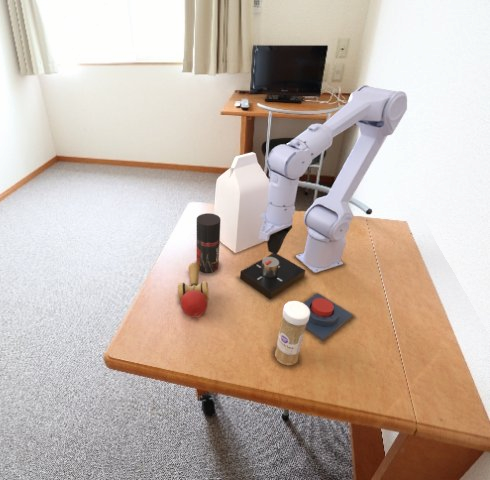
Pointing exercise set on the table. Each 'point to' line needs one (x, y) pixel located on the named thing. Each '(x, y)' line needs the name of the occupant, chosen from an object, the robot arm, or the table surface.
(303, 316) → the sprinkles bottle
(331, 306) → the push knob
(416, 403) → the table surface
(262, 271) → the dial
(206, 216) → the deodorant
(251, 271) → the hob panel
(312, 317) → the button base
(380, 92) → the robot arm
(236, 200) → the milk
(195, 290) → the kendama
